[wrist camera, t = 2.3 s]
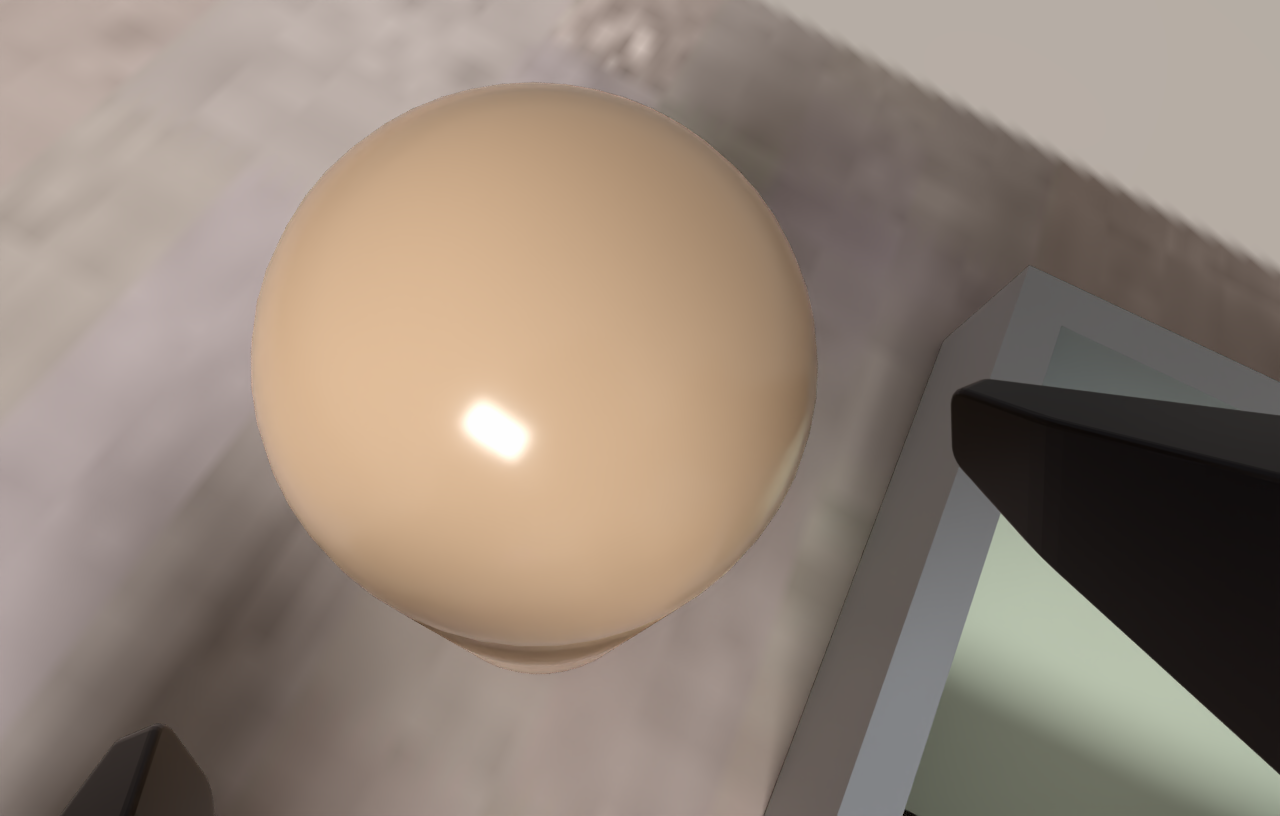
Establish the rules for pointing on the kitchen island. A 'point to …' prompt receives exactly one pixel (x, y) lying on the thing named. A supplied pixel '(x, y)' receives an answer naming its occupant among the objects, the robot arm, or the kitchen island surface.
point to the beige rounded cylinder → (534, 369)
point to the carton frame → (1013, 616)
